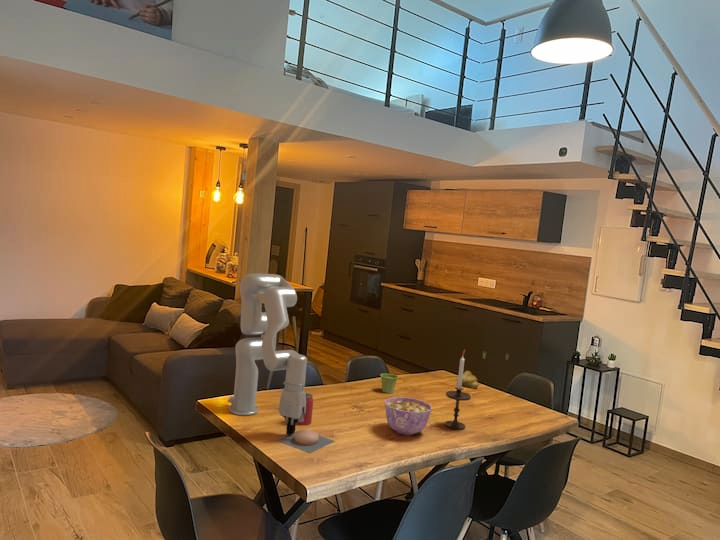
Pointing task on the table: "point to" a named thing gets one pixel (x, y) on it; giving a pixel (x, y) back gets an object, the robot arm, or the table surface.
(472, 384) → the lumpy yellow-green gourd
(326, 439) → the slate mat
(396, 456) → the table surface
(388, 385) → the plant pot
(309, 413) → the beer can
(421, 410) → the bowl of food
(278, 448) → the table surface
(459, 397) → the candlestick
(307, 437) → the pinkish beige domed disc
